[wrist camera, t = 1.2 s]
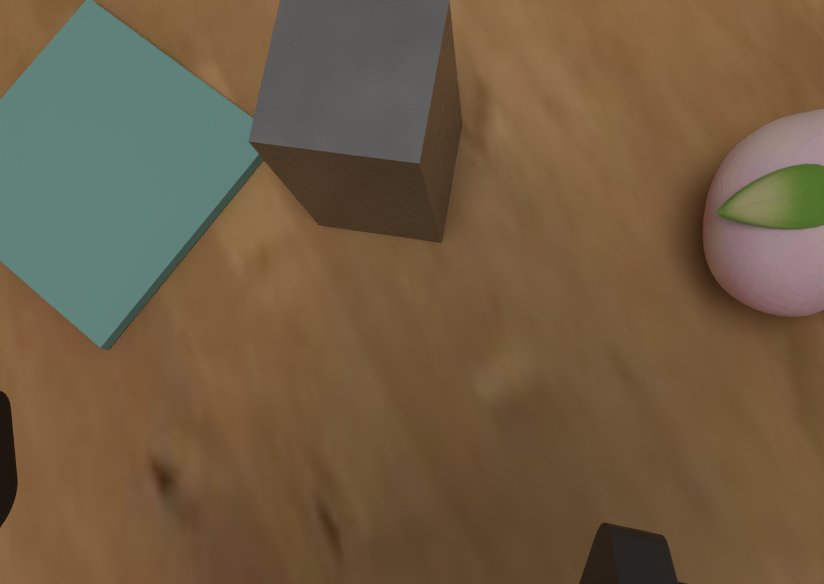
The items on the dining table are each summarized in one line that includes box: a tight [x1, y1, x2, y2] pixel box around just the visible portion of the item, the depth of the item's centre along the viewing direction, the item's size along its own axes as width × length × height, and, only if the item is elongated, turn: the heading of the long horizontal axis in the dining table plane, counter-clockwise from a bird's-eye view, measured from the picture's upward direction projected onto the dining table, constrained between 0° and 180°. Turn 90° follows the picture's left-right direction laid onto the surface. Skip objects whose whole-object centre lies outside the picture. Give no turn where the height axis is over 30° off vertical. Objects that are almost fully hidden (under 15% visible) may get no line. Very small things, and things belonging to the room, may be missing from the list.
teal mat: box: [0, 0, 264, 350], centre depth 39 cm, size 14×14×1 cm
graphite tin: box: [248, 0, 462, 242], centre depth 32 cm, size 6×6×11 cm
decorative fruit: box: [703, 109, 824, 317], centre depth 30 cm, size 9×8×10 cm
